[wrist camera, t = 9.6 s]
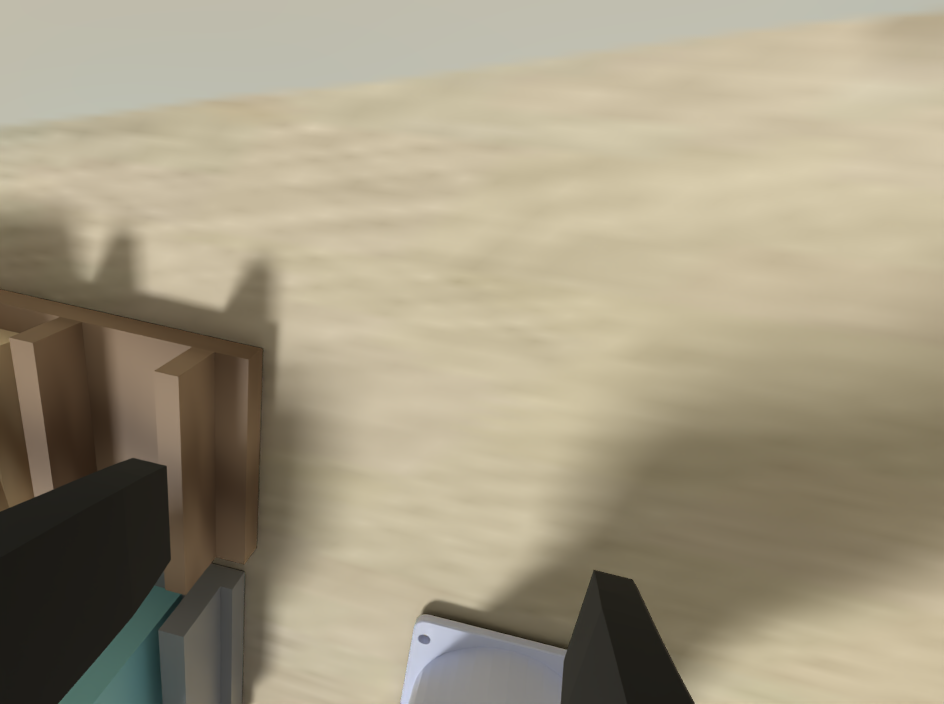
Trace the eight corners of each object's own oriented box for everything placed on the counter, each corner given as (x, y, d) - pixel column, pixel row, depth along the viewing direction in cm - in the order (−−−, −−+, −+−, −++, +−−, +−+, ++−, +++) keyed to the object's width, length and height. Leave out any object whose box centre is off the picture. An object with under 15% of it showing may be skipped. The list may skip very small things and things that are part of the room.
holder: (242, 712, 28) (200, 789, 25) (106, 675, 29) (49, 746, 26) (244, 571, 25) (196, 640, 22) (90, 532, 25) (20, 593, 22)
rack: (256, 547, 24) (216, 603, 21) (-33, 474, 25) (-107, 519, 22) (262, 348, 21) (215, 385, 18) (-76, 272, 21) (-171, 296, 19)
